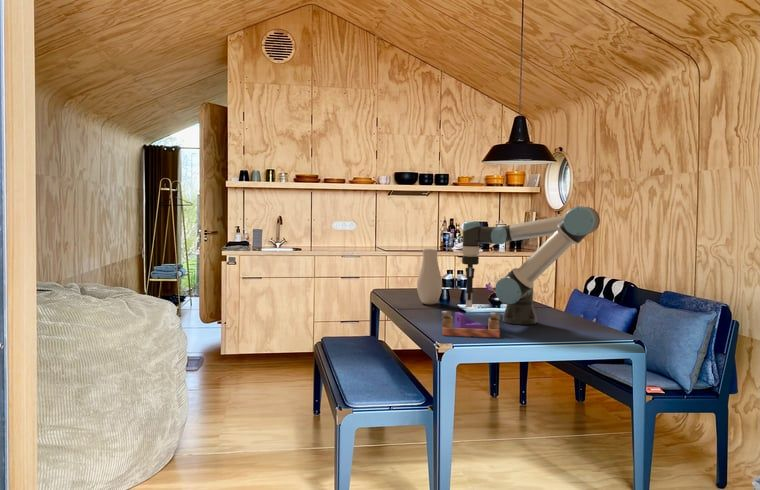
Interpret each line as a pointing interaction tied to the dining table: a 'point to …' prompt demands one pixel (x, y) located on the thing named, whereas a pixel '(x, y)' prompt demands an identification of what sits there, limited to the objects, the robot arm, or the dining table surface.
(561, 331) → the dining table surface
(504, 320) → the robot arm
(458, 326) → the bracket
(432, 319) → the dining table surface
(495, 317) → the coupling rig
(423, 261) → the vase
